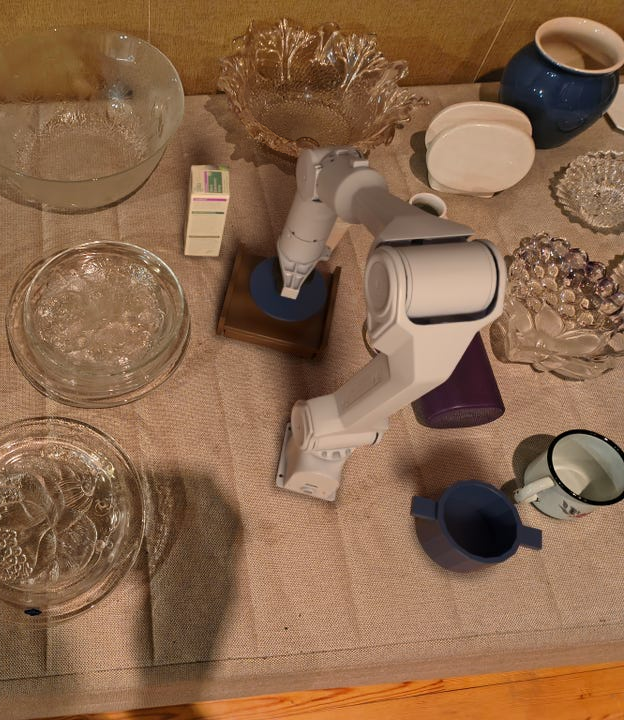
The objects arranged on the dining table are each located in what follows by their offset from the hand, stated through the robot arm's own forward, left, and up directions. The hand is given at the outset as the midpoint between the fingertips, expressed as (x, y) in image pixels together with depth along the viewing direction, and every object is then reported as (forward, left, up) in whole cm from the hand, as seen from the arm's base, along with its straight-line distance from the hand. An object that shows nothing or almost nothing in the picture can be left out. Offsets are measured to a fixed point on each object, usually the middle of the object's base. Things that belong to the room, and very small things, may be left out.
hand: (285, 284), depth 96 cm
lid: (0, -1, -1) cm, 1 cm away
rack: (0, 0, -7) cm, 7 cm away
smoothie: (+14, -5, -7) cm, 16 cm away
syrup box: (+9, +14, -7) cm, 18 cm away
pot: (-27, -29, -7) cm, 40 cm away
